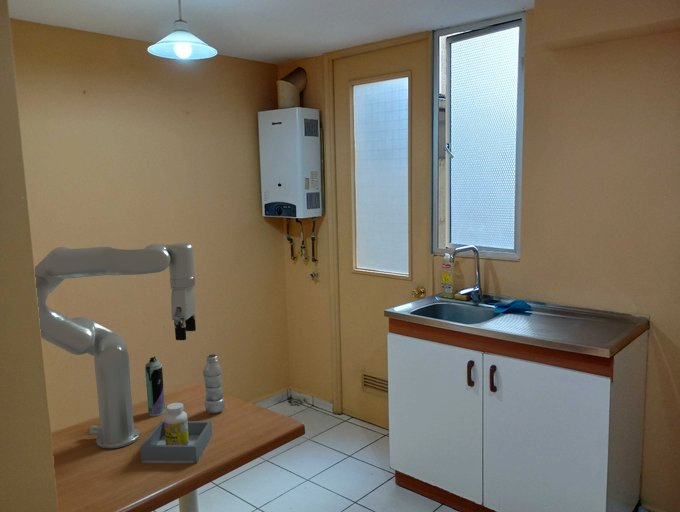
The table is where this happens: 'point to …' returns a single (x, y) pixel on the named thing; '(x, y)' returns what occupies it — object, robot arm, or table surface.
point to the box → (162, 453)
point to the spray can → (155, 387)
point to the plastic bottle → (213, 385)
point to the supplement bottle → (176, 425)
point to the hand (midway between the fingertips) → (186, 335)
